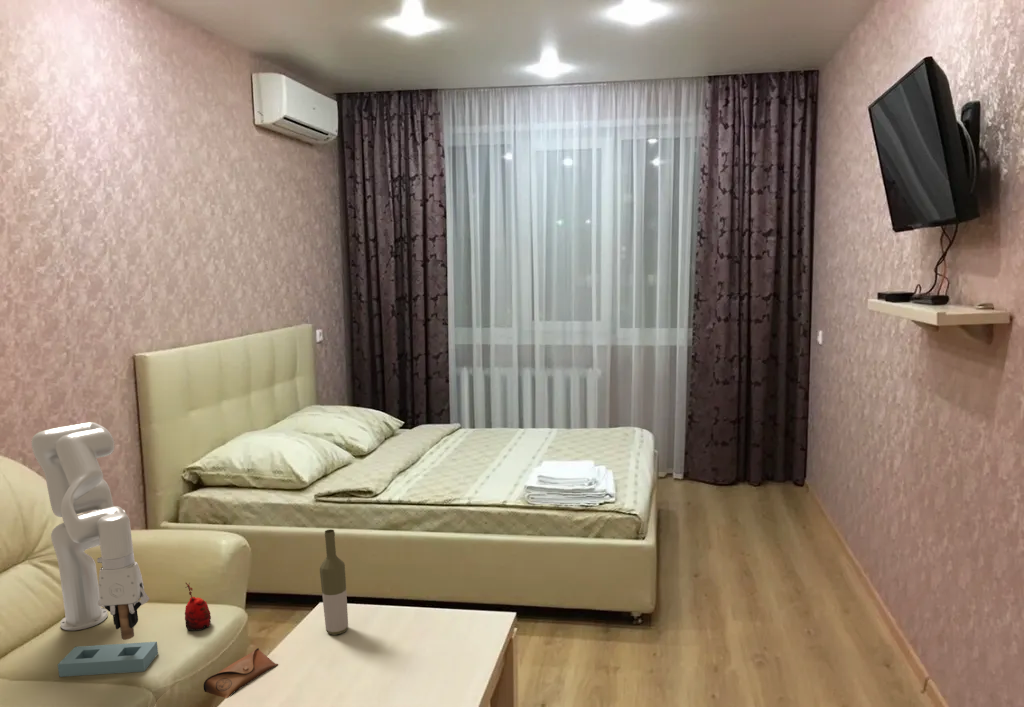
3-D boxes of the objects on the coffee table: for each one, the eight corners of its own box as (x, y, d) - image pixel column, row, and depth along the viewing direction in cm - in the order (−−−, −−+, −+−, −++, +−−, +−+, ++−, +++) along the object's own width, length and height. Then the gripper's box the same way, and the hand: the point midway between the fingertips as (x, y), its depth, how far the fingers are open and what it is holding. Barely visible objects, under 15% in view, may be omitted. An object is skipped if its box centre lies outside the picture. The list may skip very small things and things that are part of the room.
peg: (124, 634, 207) (119, 592, 205) (136, 633, 207) (130, 591, 205) (119, 640, 204) (114, 597, 202) (131, 639, 204) (125, 596, 202)
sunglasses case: (226, 699, 188) (215, 674, 189) (211, 706, 192) (199, 682, 192) (280, 663, 204) (269, 640, 205) (265, 670, 207) (254, 648, 208)
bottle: (351, 633, 218) (344, 532, 214) (326, 639, 216) (318, 537, 211) (347, 622, 225) (339, 524, 220) (323, 628, 222) (314, 529, 218)
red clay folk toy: (216, 624, 227) (211, 576, 225) (195, 635, 221) (190, 586, 219) (201, 618, 231) (196, 571, 229) (179, 628, 225) (174, 580, 223)
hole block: (76, 658, 211) (75, 646, 210) (158, 653, 212) (156, 641, 211) (59, 676, 202) (57, 664, 201) (144, 671, 203) (142, 659, 202)
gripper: (79, 568, 199) (88, 635, 201) (143, 564, 199) (151, 630, 202) (93, 557, 206) (102, 621, 208) (155, 553, 207) (163, 617, 209)
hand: (126, 625), depth 205 cm, fingers closed on peg, 3 cm apart
